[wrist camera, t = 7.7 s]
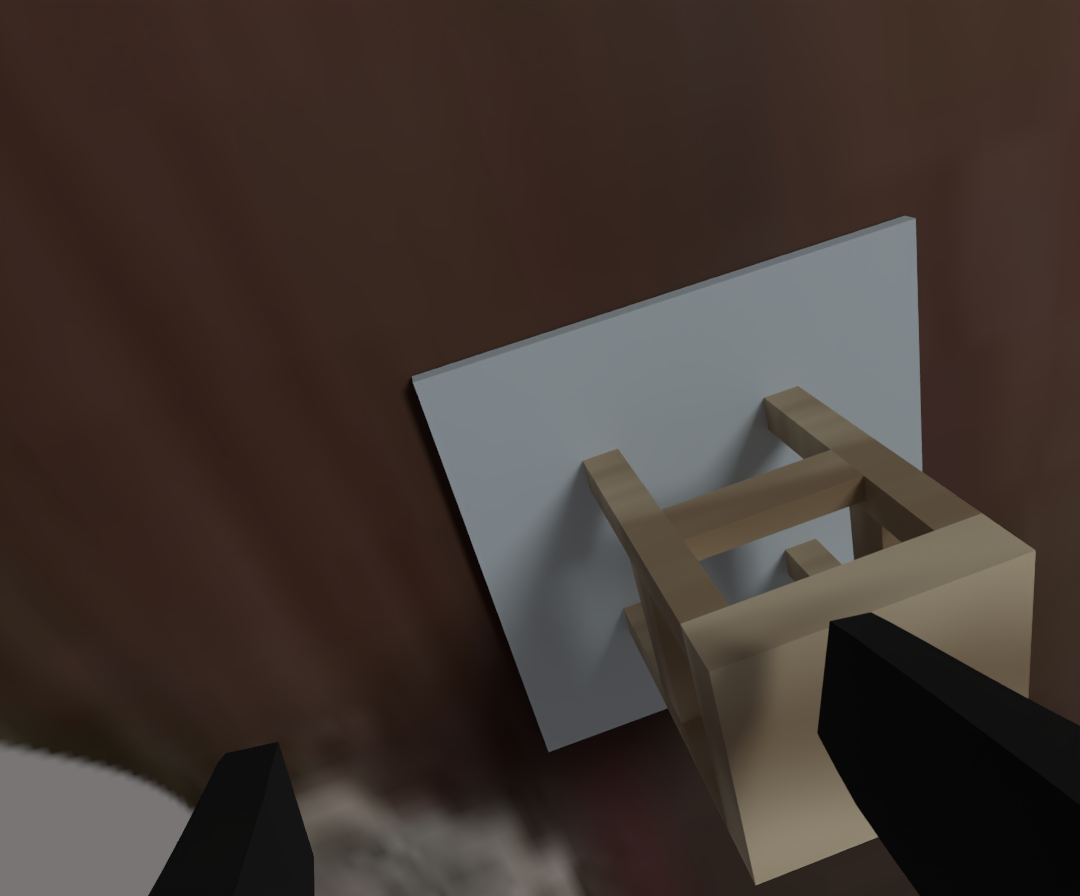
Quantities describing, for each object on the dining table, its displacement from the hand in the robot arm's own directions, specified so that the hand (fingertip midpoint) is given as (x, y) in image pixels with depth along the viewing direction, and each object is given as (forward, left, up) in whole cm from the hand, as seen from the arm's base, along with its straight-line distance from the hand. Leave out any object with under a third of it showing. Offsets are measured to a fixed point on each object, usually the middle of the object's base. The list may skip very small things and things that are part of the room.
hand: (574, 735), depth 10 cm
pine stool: (+1, -6, -9) cm, 11 cm away
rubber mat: (+1, -6, -9) cm, 11 cm away
